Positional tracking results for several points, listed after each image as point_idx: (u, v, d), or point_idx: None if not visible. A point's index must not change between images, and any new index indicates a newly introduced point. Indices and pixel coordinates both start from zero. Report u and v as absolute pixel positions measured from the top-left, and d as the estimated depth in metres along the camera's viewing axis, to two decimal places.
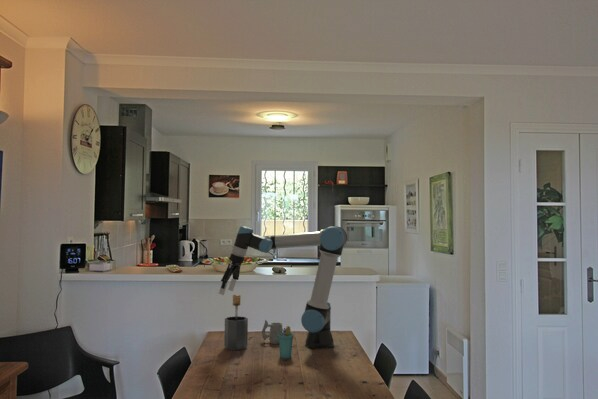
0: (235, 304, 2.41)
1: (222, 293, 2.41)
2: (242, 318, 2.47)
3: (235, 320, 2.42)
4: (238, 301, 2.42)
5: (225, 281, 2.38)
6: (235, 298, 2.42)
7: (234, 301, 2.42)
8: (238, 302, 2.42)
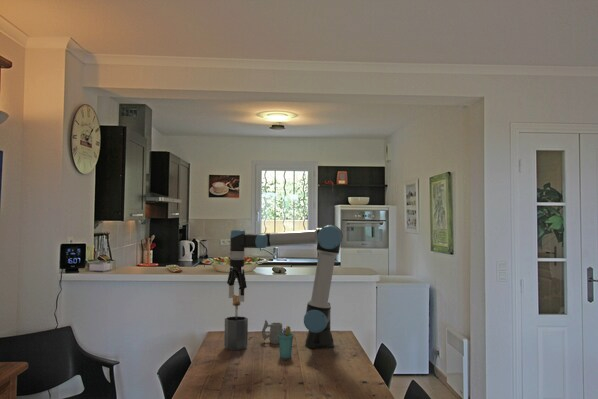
0: (235, 304, 2.41)
1: (242, 300, 2.38)
2: (242, 318, 2.47)
3: (235, 320, 2.42)
4: (238, 301, 2.42)
5: (246, 286, 2.36)
6: (235, 298, 2.42)
7: (234, 301, 2.42)
8: (238, 302, 2.42)
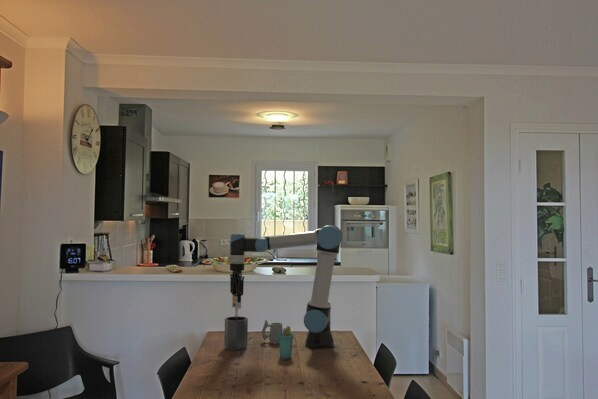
0: (235, 304, 2.41)
1: (239, 307, 2.41)
2: (242, 318, 2.47)
3: (235, 320, 2.42)
4: None
5: None
6: (235, 298, 2.42)
7: (234, 301, 2.42)
8: None
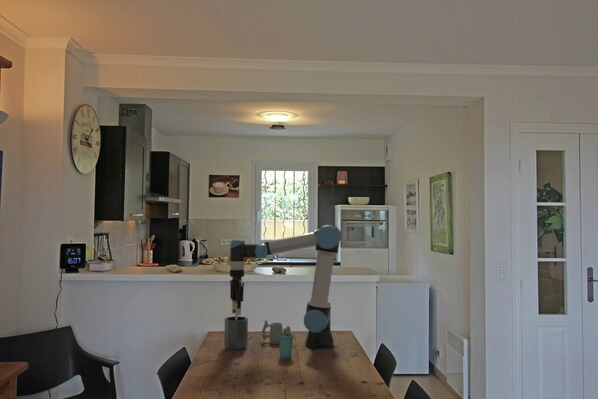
0: (235, 310, 2.41)
1: (239, 313, 2.41)
2: (242, 318, 2.47)
3: None
4: None
5: None
6: (235, 304, 2.41)
7: (234, 307, 2.42)
8: None
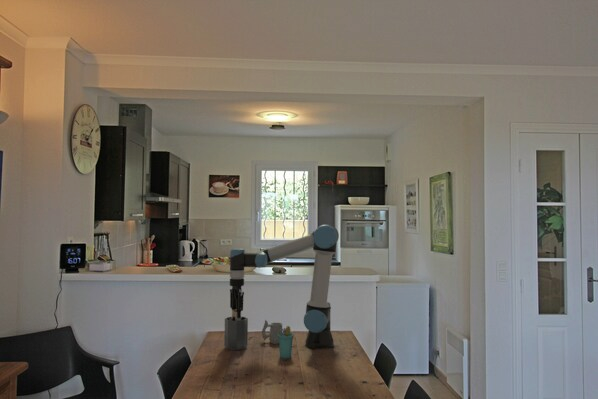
0: None
1: None
2: (242, 318, 2.47)
3: None
4: None
5: (242, 310, 2.39)
6: (235, 314, 2.41)
7: (234, 317, 2.41)
8: None
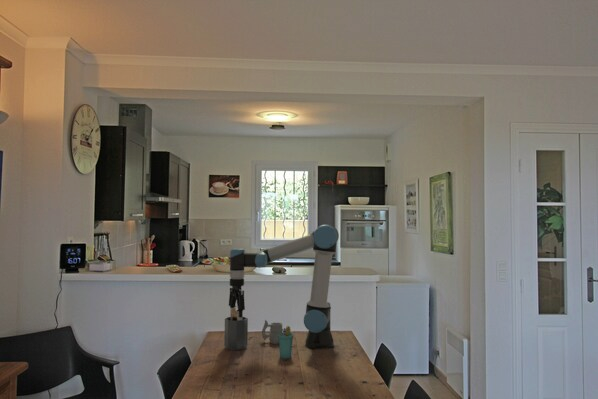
0: (235, 320, 2.41)
1: None
2: None
3: None
4: None
5: (244, 309, 2.37)
6: (235, 314, 2.41)
7: (234, 317, 2.41)
8: None
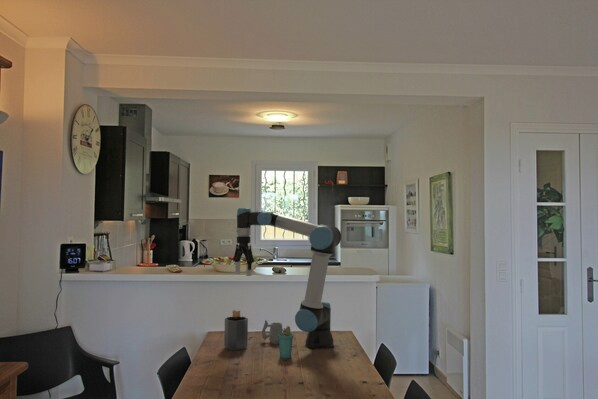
0: (235, 320, 2.41)
1: (250, 274, 2.49)
2: (242, 318, 2.47)
3: None
4: (238, 316, 2.42)
5: (253, 261, 2.48)
6: (235, 314, 2.41)
7: (234, 317, 2.41)
8: (238, 318, 2.42)
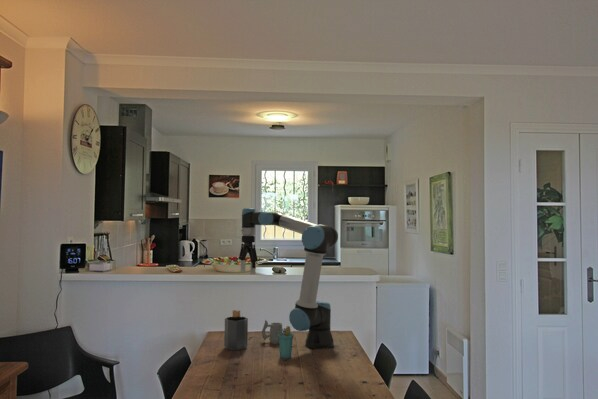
0: (235, 320, 2.41)
1: (254, 272, 2.58)
2: (242, 318, 2.47)
3: None
4: (238, 316, 2.42)
5: (257, 260, 2.56)
6: (235, 314, 2.41)
7: (234, 317, 2.41)
8: (238, 318, 2.42)
